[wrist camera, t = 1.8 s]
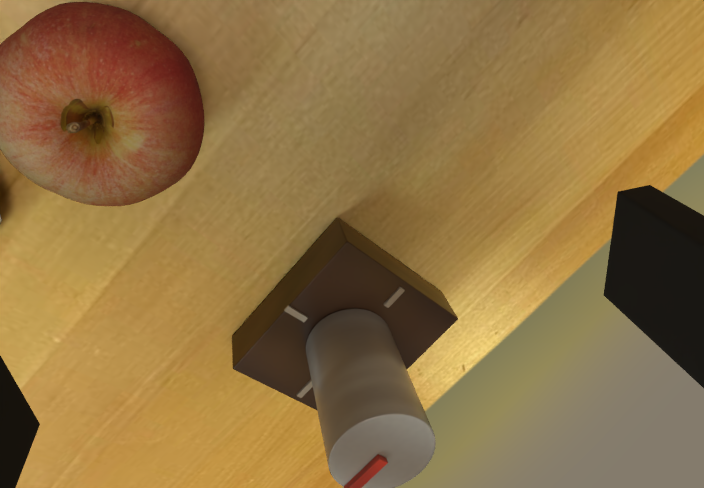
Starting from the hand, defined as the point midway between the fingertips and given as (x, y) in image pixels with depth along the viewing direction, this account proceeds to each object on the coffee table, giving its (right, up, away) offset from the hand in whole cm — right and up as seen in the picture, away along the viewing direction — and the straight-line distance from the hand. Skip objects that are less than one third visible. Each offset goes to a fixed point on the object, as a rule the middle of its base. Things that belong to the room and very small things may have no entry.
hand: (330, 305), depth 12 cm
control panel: (0, -3, +23) cm, 23 cm away
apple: (-11, +9, +14) cm, 20 cm away
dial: (0, -4, +20) cm, 21 cm away
